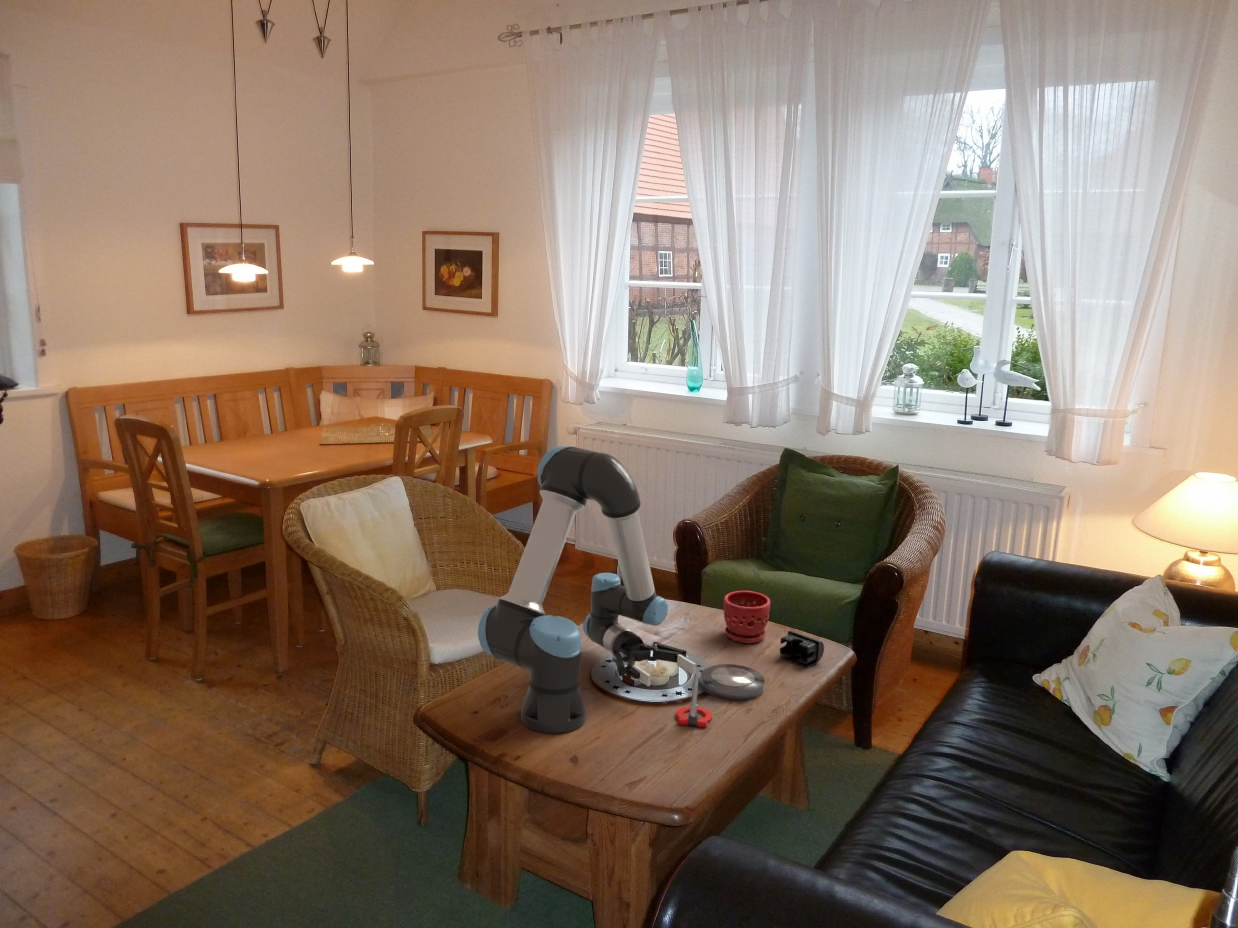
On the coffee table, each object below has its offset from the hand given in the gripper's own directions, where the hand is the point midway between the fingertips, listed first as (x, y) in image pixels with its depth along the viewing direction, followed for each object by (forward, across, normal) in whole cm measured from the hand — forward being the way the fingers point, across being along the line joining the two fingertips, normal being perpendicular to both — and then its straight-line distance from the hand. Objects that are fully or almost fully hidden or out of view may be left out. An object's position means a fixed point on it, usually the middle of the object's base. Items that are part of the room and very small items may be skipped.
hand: (672, 674), depth 234 cm
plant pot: (-22, -43, -7) cm, 49 cm away
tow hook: (+9, 0, -7) cm, 12 cm away
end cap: (-3, -46, -7) cm, 47 cm away
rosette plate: (+1, -19, -7) cm, 20 cm away
